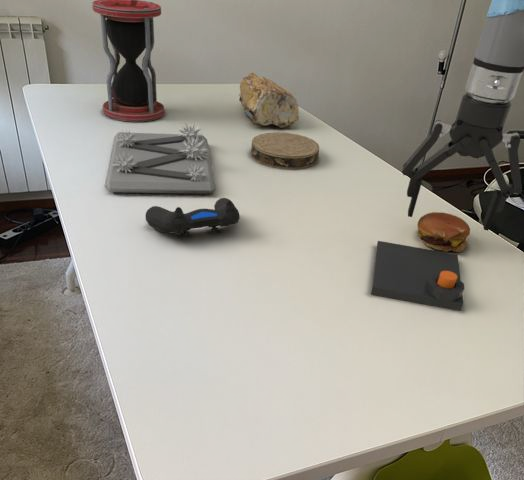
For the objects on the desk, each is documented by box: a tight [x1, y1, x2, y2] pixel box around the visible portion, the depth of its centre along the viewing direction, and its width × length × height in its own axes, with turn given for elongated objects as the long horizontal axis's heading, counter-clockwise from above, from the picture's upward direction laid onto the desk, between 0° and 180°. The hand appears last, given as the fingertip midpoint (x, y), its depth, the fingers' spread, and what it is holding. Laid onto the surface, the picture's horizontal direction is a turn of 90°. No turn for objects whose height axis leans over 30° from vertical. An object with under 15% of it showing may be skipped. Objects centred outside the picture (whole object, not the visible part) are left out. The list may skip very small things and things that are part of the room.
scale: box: [370, 240, 465, 311], centre depth 91 cm, size 14×16×3 cm
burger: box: [417, 211, 471, 253], centre depth 101 cm, size 10×9×5 cm
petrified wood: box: [238, 72, 300, 129], centre depth 150 cm, size 19×13×10 cm
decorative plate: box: [104, 122, 217, 195], centre depth 117 cm, size 30×22×7 cm
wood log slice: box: [250, 131, 320, 170], centre depth 130 cm, size 16×16×3 cm
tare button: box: [437, 271, 457, 289], centre depth 85 cm, size 3×3×2 cm
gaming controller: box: [144, 197, 241, 236], centre depth 97 cm, size 17×6×10 cm
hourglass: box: [91, 0, 165, 123], centre depth 140 cm, size 16×16×25 cm
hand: (447, 220), depth 100 cm, fingers open, 13 cm apart
